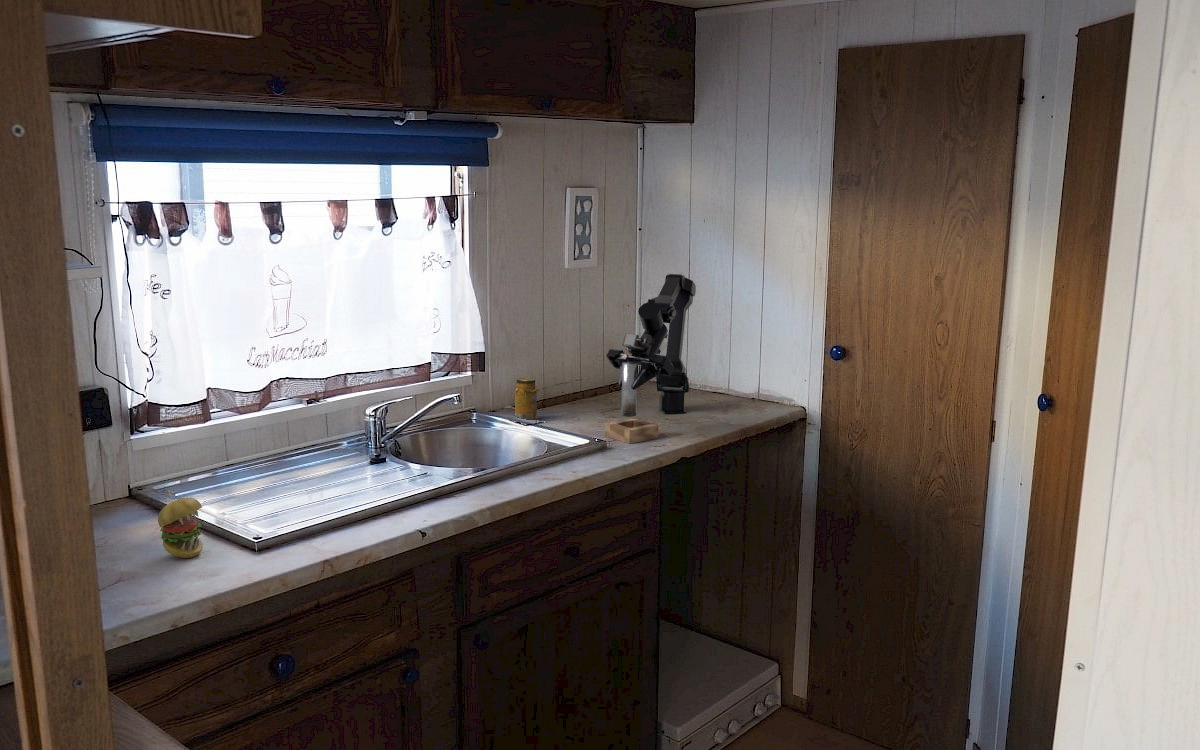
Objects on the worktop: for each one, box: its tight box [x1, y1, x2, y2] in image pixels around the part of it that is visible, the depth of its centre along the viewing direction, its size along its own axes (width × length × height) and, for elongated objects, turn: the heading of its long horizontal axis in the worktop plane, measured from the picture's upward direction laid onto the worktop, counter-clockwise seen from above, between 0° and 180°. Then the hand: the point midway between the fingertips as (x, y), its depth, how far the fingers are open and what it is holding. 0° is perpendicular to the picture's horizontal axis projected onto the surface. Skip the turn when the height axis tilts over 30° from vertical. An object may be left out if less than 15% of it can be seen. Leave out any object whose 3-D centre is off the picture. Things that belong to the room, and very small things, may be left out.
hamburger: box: [157, 489, 204, 559], centre depth 182 cm, size 8×7×12 cm
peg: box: [620, 362, 638, 418], centre depth 269 cm, size 4×4×14 cm
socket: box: [604, 417, 659, 445], centre depth 271 cm, size 10×10×4 cm
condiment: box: [514, 377, 546, 423], centre depth 286 cm, size 7×8×12 cm
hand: (626, 387), depth 268 cm, fingers closed on peg, 4 cm apart
